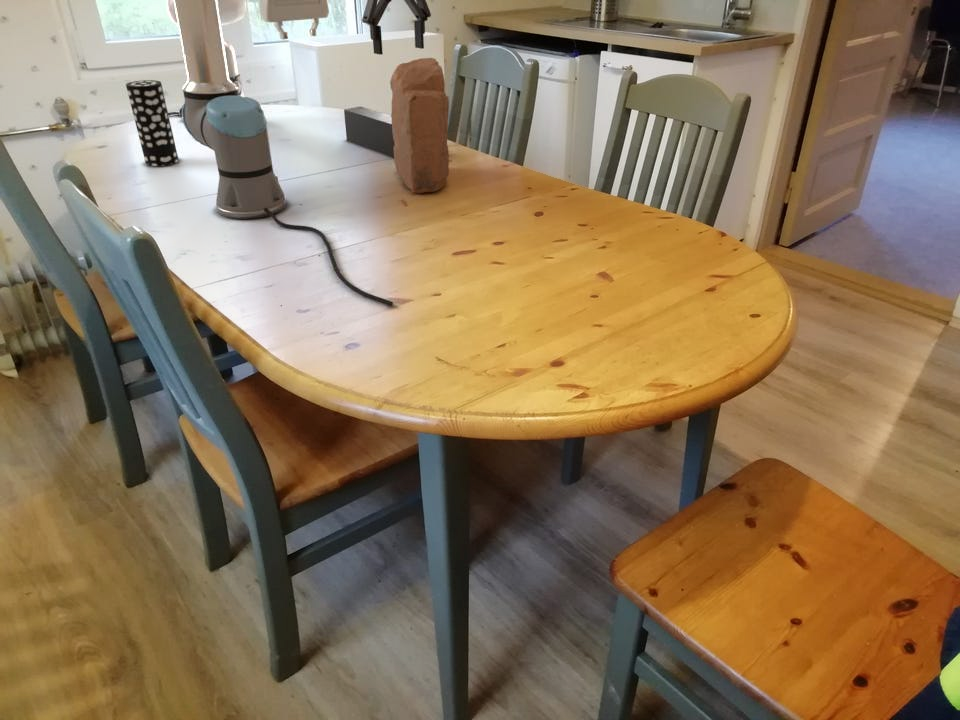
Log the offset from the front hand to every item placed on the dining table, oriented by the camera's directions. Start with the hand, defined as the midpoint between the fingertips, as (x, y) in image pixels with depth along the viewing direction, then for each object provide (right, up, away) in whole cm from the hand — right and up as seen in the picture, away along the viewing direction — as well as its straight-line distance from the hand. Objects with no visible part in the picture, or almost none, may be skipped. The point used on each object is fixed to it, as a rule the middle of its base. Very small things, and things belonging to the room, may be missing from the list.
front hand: (399, 51), depth 179 cm
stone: (+6, -35, -3) cm, 35 cm away
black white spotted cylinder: (-65, -18, +2) cm, 68 cm away
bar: (-7, -19, +21) cm, 29 cm away
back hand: (-31, +12, +19) cm, 38 cm away
